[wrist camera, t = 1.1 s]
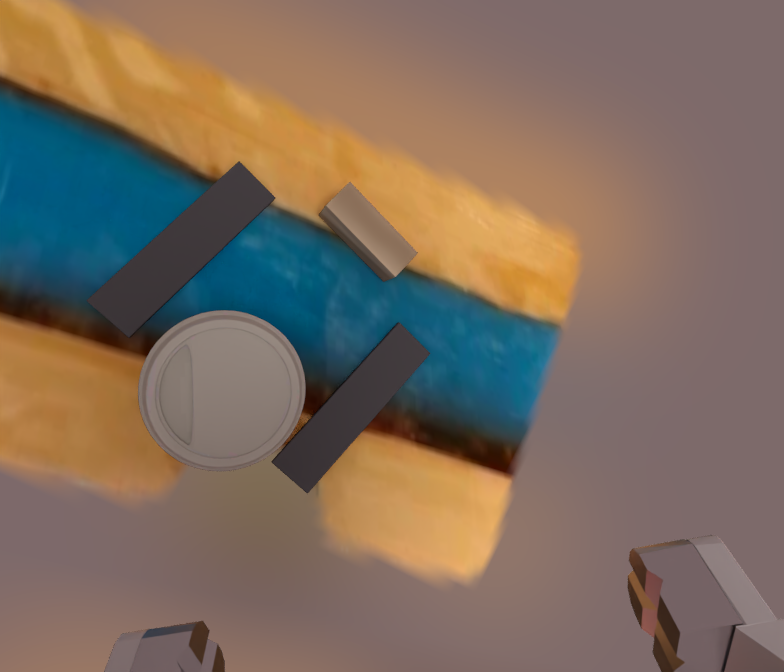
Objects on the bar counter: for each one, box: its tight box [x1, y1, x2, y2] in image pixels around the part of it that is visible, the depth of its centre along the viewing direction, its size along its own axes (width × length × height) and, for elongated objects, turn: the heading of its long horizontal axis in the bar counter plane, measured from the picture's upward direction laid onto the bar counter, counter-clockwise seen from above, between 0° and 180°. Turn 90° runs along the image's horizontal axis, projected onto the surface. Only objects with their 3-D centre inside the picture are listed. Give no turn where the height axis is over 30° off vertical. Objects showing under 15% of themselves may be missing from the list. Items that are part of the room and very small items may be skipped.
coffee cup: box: [138, 310, 305, 471], centre depth 34 cm, size 8×8×12 cm
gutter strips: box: [87, 162, 430, 493], centre depth 40 cm, size 14×20×1 cm
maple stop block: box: [319, 182, 417, 281], centre depth 41 cm, size 2×7×3 cm, turn 45°
